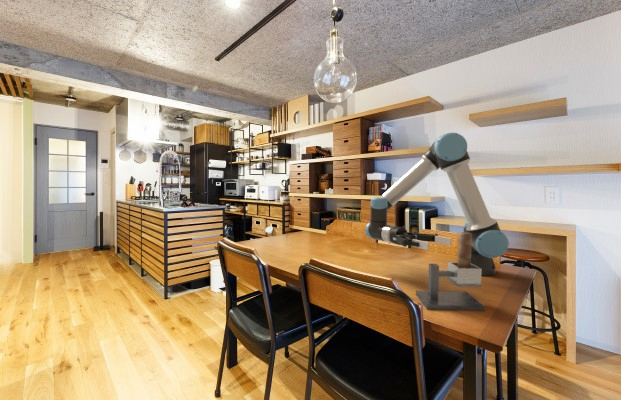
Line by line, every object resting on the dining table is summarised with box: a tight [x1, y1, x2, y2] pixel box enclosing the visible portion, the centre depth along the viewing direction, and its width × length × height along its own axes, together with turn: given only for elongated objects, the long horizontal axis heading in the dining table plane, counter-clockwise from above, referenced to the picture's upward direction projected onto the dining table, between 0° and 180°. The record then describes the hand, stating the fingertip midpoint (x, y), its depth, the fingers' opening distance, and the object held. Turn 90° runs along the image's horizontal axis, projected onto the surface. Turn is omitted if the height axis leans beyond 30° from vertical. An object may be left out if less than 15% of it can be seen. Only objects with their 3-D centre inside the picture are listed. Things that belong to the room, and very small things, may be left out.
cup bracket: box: [415, 261, 486, 312], centre depth 97 cm, size 18×12×13 cm, turn 86°
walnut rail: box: [456, 231, 472, 268], centre depth 96 cm, size 4×4×16 cm
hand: (440, 244), depth 104 cm, fingers open, 13 cm apart
